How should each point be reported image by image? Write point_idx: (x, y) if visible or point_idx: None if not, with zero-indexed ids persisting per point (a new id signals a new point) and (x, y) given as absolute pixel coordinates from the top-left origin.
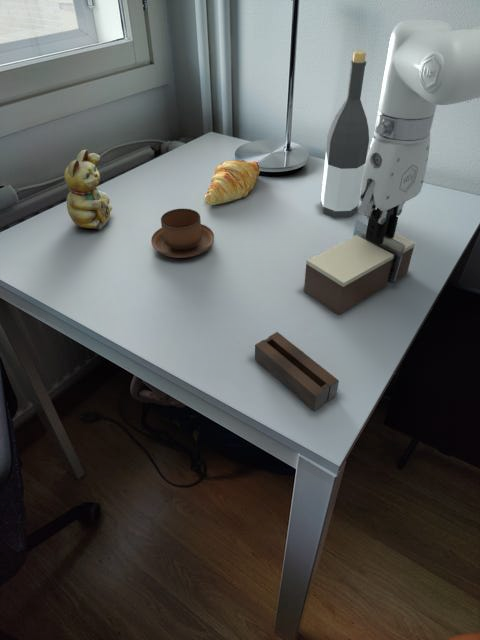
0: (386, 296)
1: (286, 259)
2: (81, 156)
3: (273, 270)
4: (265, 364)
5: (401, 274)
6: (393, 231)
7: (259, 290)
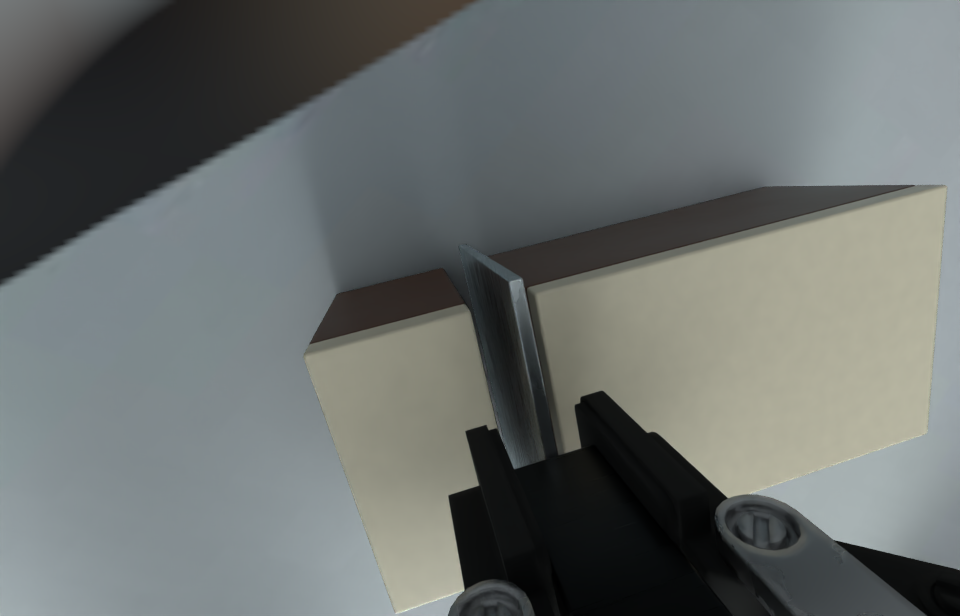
0: (532, 196)
1: None
2: None
3: None
4: None
5: (384, 285)
6: (496, 457)
7: None
